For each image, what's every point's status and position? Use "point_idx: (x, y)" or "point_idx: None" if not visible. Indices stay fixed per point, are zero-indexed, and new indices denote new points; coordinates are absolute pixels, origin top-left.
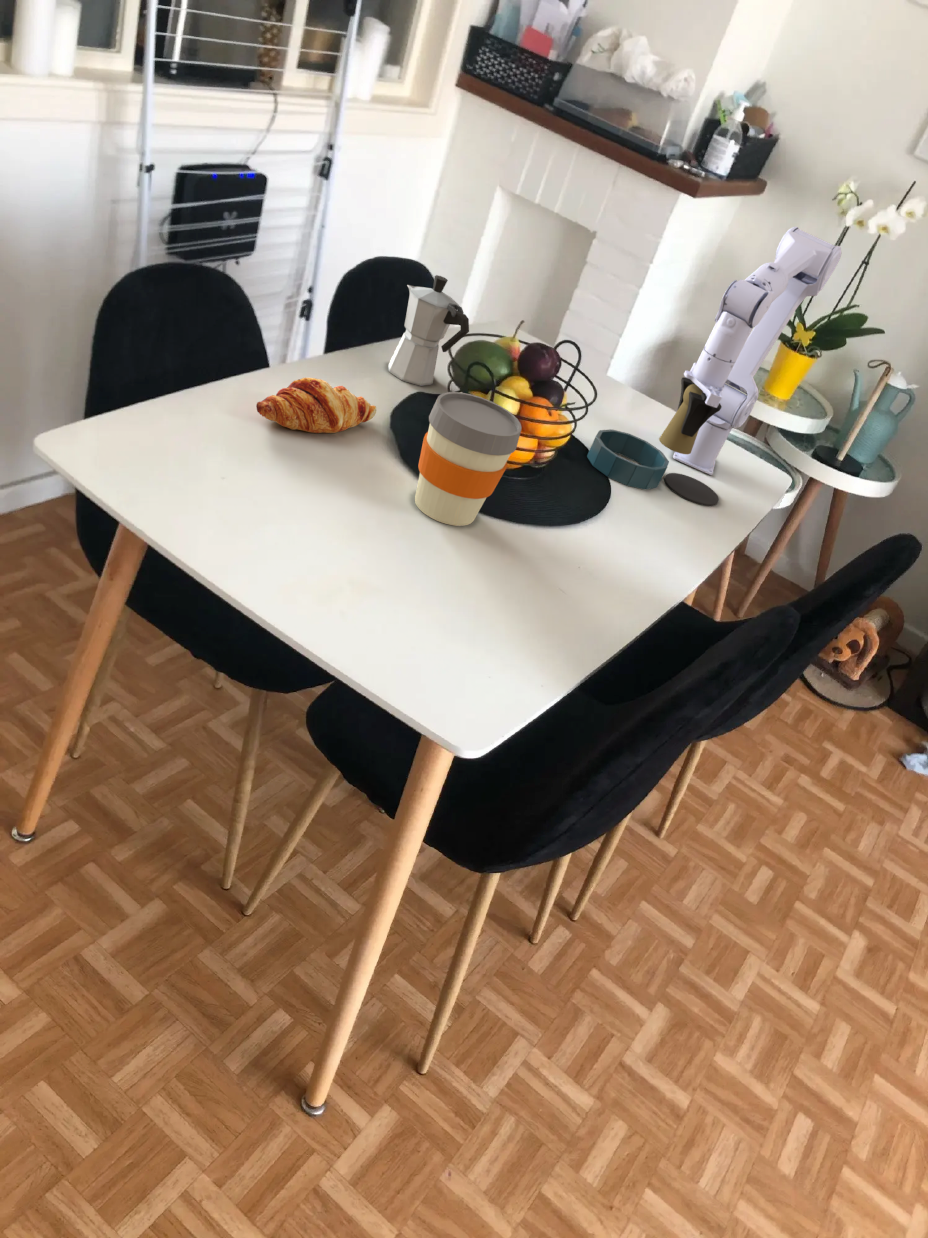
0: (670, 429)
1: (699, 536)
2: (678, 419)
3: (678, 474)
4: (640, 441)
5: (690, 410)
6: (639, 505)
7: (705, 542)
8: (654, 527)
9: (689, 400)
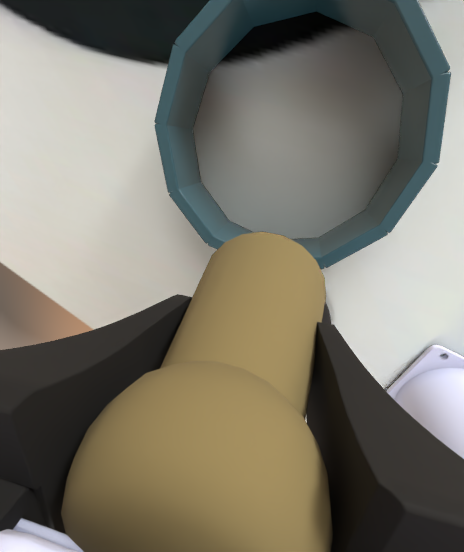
0: (229, 262)
1: (61, 261)
2: (207, 298)
3: (323, 318)
4: (388, 207)
5: (60, 341)
6: (97, 141)
7: (47, 266)
8: (22, 156)
9: (55, 366)
